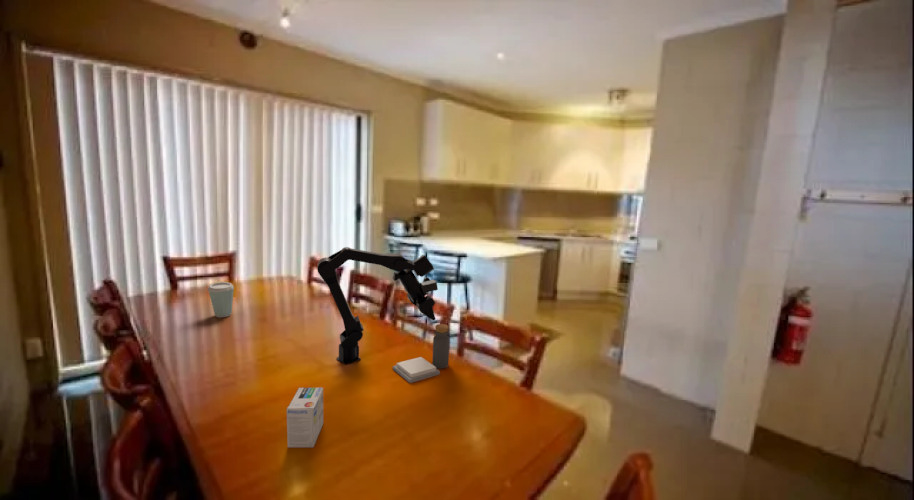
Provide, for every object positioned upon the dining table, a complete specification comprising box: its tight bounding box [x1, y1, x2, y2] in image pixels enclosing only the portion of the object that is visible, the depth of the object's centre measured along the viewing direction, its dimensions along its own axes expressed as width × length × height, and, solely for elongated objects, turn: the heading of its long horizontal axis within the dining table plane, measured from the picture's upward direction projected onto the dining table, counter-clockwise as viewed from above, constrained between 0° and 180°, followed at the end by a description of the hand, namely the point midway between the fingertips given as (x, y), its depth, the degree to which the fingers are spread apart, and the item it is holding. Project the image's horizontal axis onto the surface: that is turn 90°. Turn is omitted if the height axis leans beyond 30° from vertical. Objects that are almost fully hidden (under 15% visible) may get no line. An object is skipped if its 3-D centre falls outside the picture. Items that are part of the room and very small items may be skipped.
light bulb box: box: [286, 387, 324, 448], centre depth 108 cm, size 11×7×11 cm, turn 5°
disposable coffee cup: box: [207, 281, 235, 318], centre depth 193 cm, size 11×11×15 cm
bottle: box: [431, 323, 450, 370], centre depth 152 cm, size 6×6×15 cm
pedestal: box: [392, 356, 441, 384], centre depth 147 cm, size 12×12×2 cm
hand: (430, 316), depth 161 cm, fingers open, 9 cm apart
